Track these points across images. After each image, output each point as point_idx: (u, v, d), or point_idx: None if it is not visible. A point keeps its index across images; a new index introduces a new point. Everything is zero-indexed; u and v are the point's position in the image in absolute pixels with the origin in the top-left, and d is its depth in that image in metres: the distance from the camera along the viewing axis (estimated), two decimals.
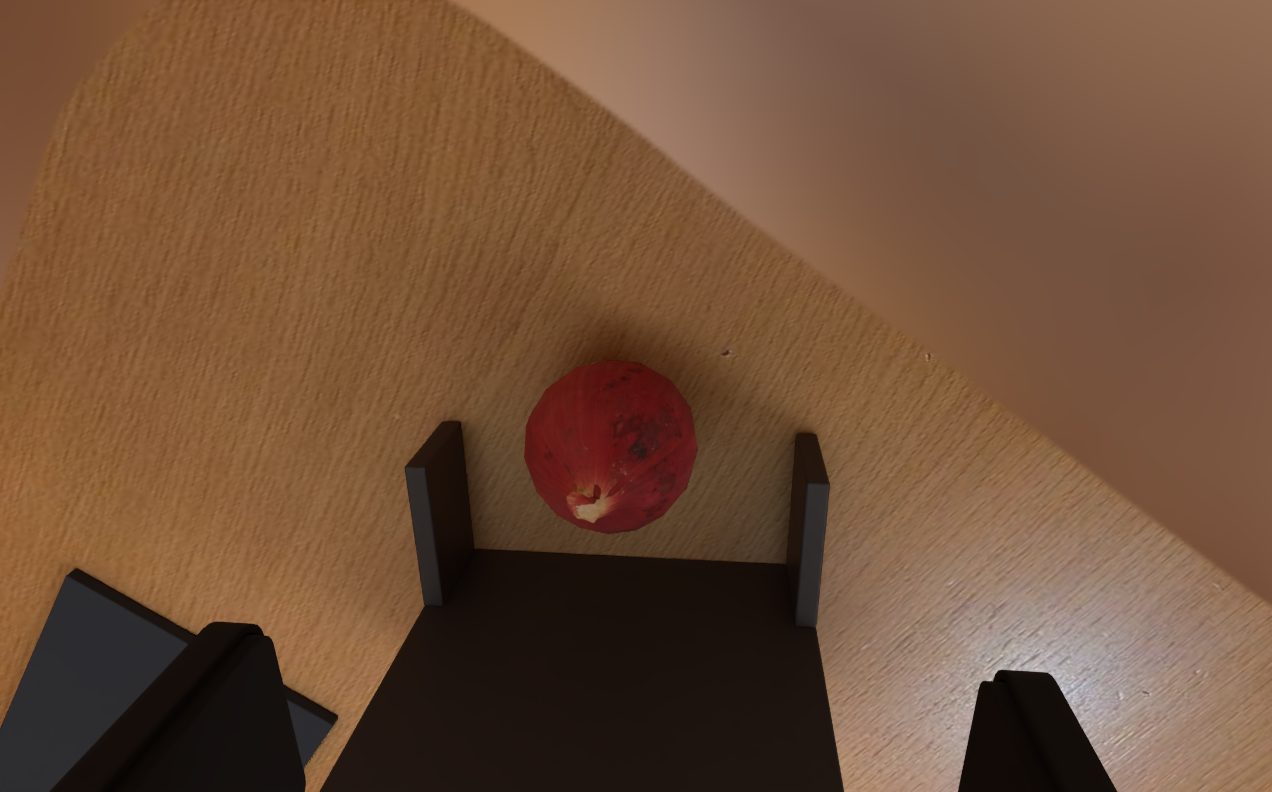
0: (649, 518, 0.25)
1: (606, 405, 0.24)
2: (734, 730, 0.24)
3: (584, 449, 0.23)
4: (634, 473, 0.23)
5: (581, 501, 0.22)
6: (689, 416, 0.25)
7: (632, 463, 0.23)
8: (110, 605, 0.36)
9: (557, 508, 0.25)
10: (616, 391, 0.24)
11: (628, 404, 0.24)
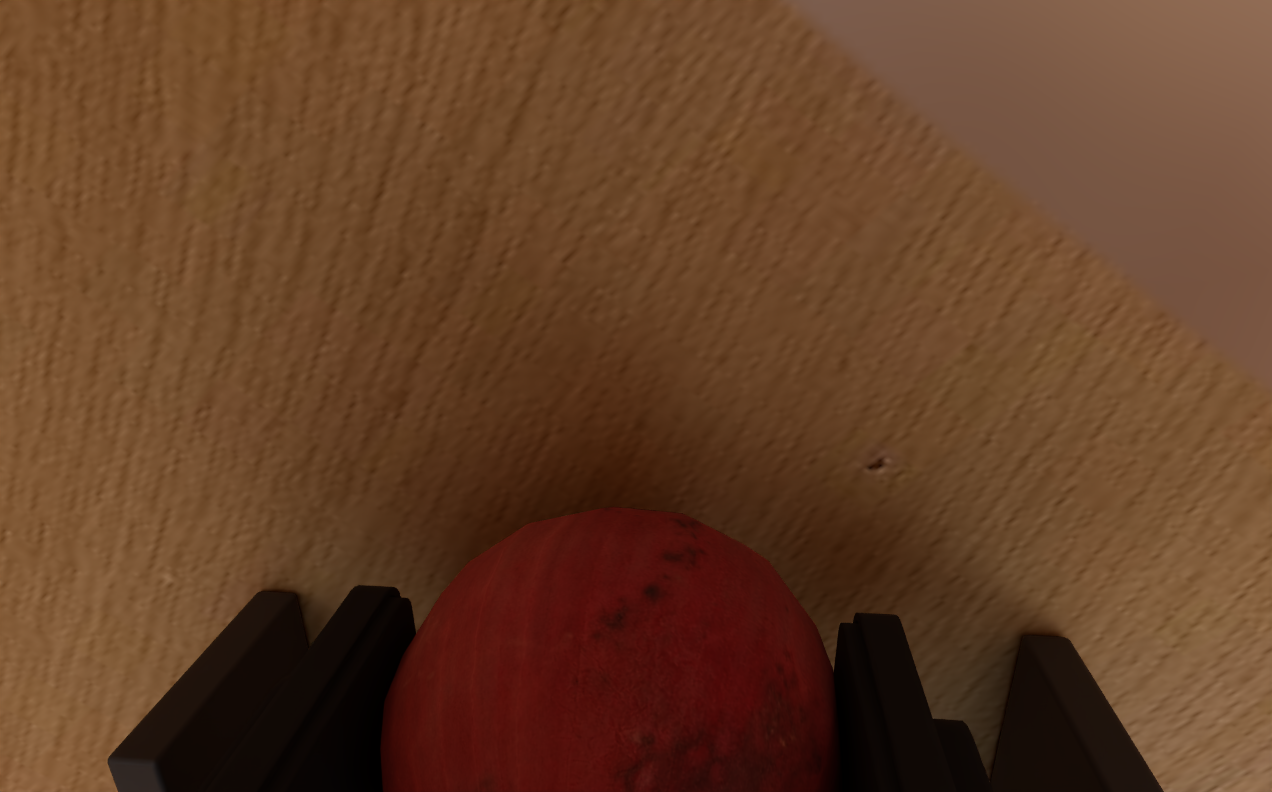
0: None
1: (602, 699, 0.08)
2: None
3: None
4: None
5: None
6: (828, 674, 0.09)
7: None
8: None
9: None
10: (631, 643, 0.08)
11: (669, 689, 0.08)
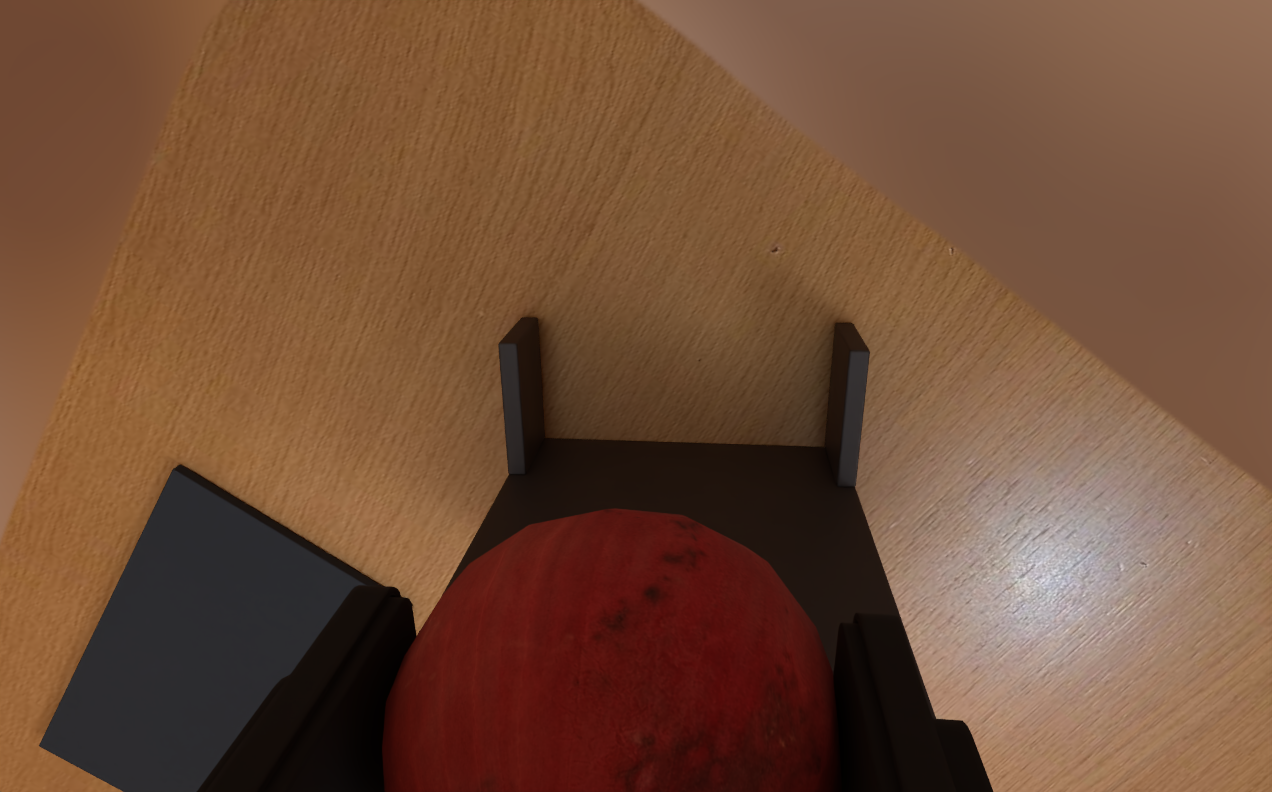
0: None
1: (601, 700, 0.08)
2: (792, 550, 0.28)
3: None
4: None
5: None
6: (827, 675, 0.09)
7: None
8: (211, 496, 0.39)
9: None
10: (631, 644, 0.08)
11: (670, 691, 0.08)
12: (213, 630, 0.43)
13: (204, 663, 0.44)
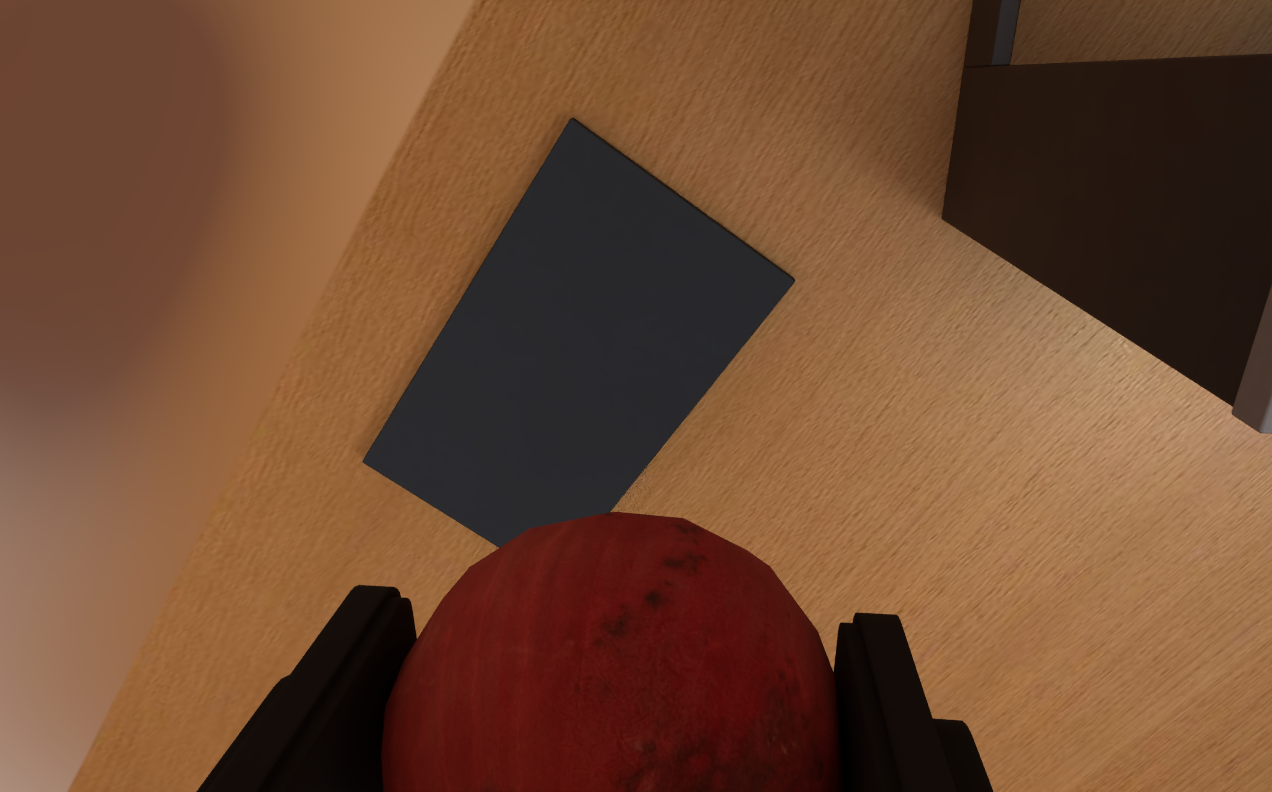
0: None
1: (603, 706, 0.08)
2: None
3: None
4: None
5: None
6: (829, 680, 0.09)
7: None
8: (606, 150, 0.38)
9: None
10: (632, 650, 0.08)
11: (670, 697, 0.08)
12: (577, 314, 0.42)
13: (560, 354, 0.43)
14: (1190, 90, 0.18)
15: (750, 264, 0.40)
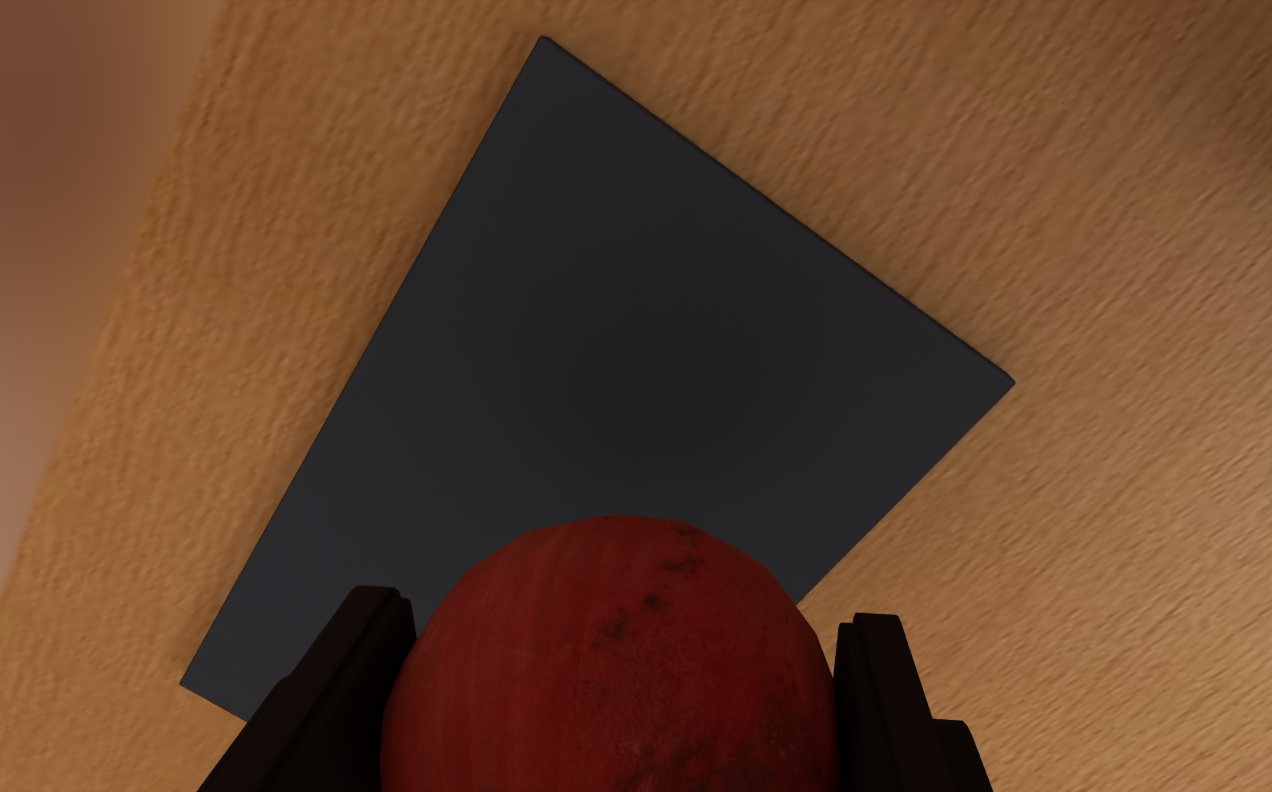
0: None
1: (601, 710, 0.08)
2: None
3: None
4: None
5: None
6: (828, 683, 0.09)
7: None
8: (620, 107, 0.17)
9: None
10: (631, 654, 0.08)
11: (669, 700, 0.08)
12: (561, 441, 0.21)
13: (529, 514, 0.22)
14: None
15: (924, 349, 0.19)
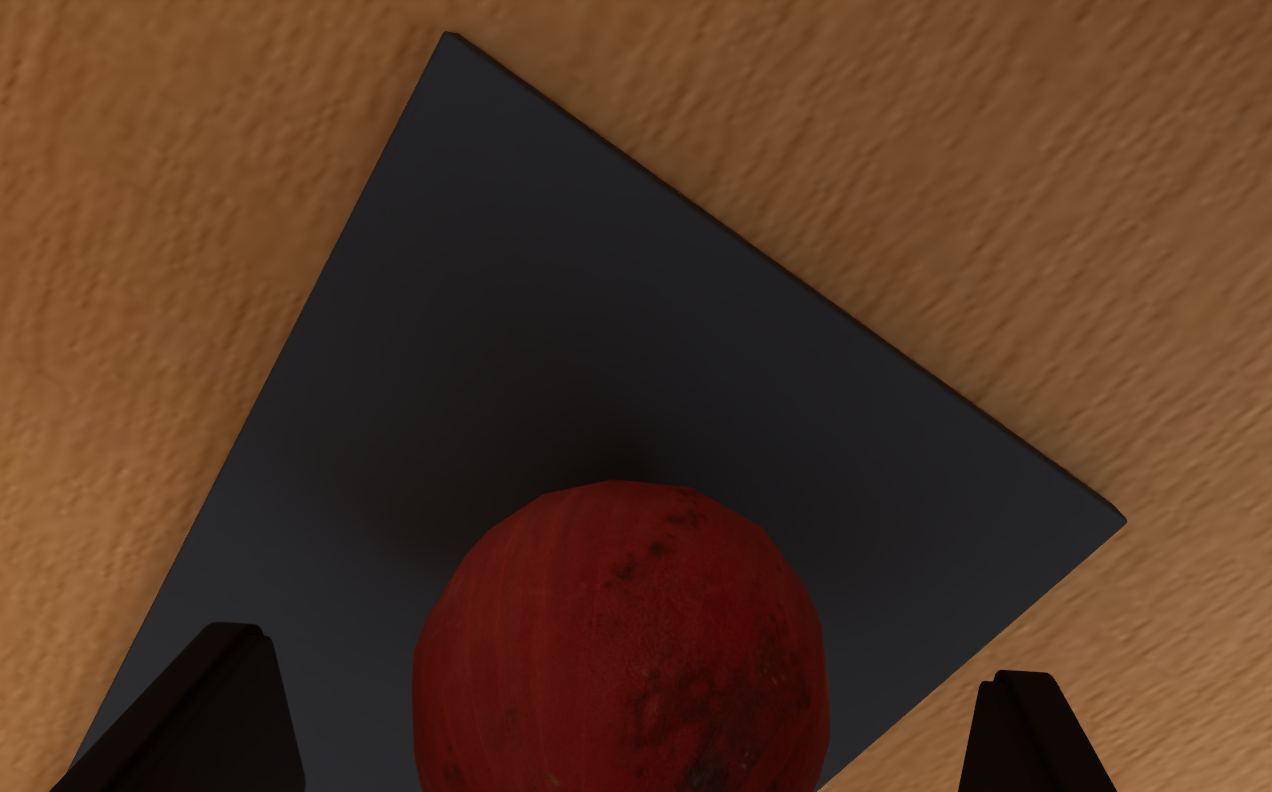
0: None
1: (613, 640, 0.09)
2: None
3: (551, 784, 0.08)
4: None
5: None
6: (816, 627, 0.10)
7: None
8: (564, 135, 0.12)
9: None
10: (639, 591, 0.09)
11: (673, 632, 0.09)
12: None
13: None
14: None
15: (999, 474, 0.13)
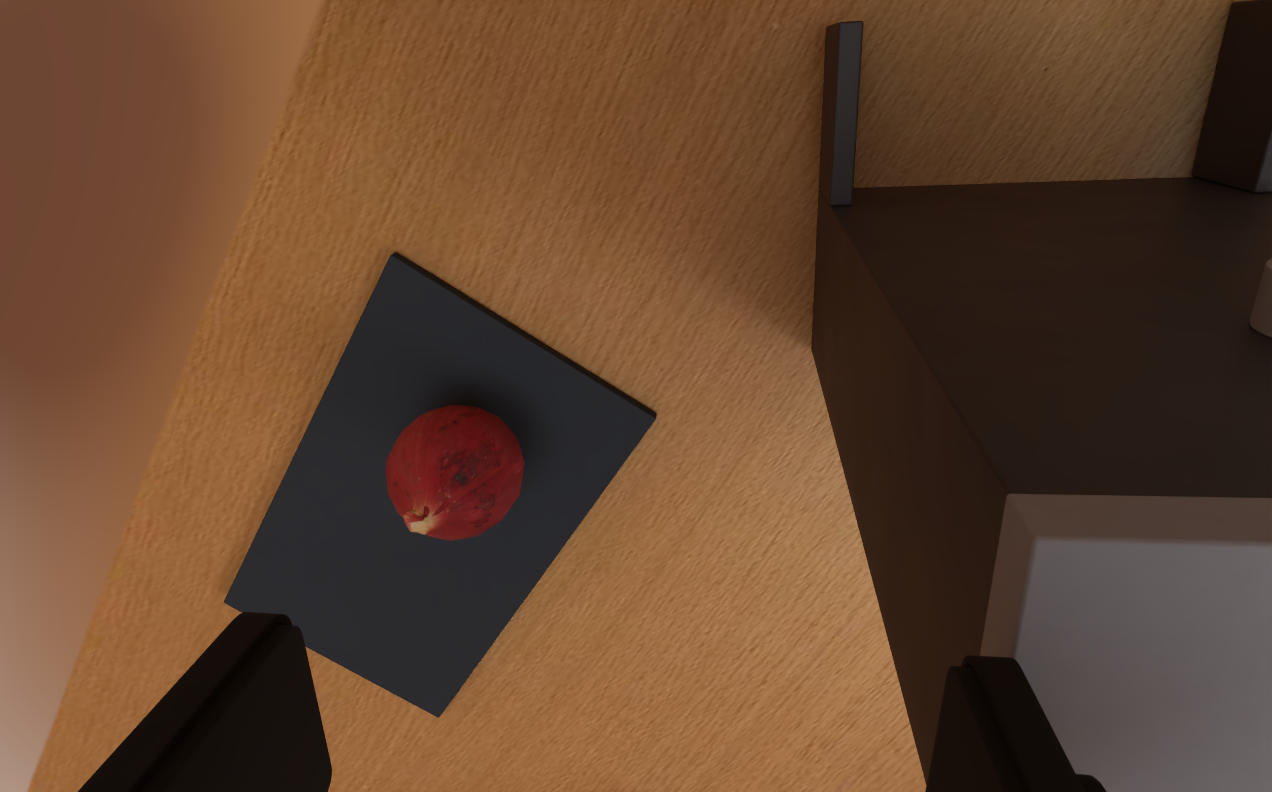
0: (478, 528, 0.32)
1: (437, 444, 0.31)
2: None
3: (418, 479, 0.31)
4: (456, 496, 0.31)
5: (413, 518, 0.30)
6: (511, 448, 0.33)
7: (454, 488, 0.31)
8: (434, 287, 0.34)
9: None
10: (446, 433, 0.31)
11: (454, 442, 0.31)
12: None
13: None
14: (921, 397, 0.14)
15: (605, 402, 0.36)
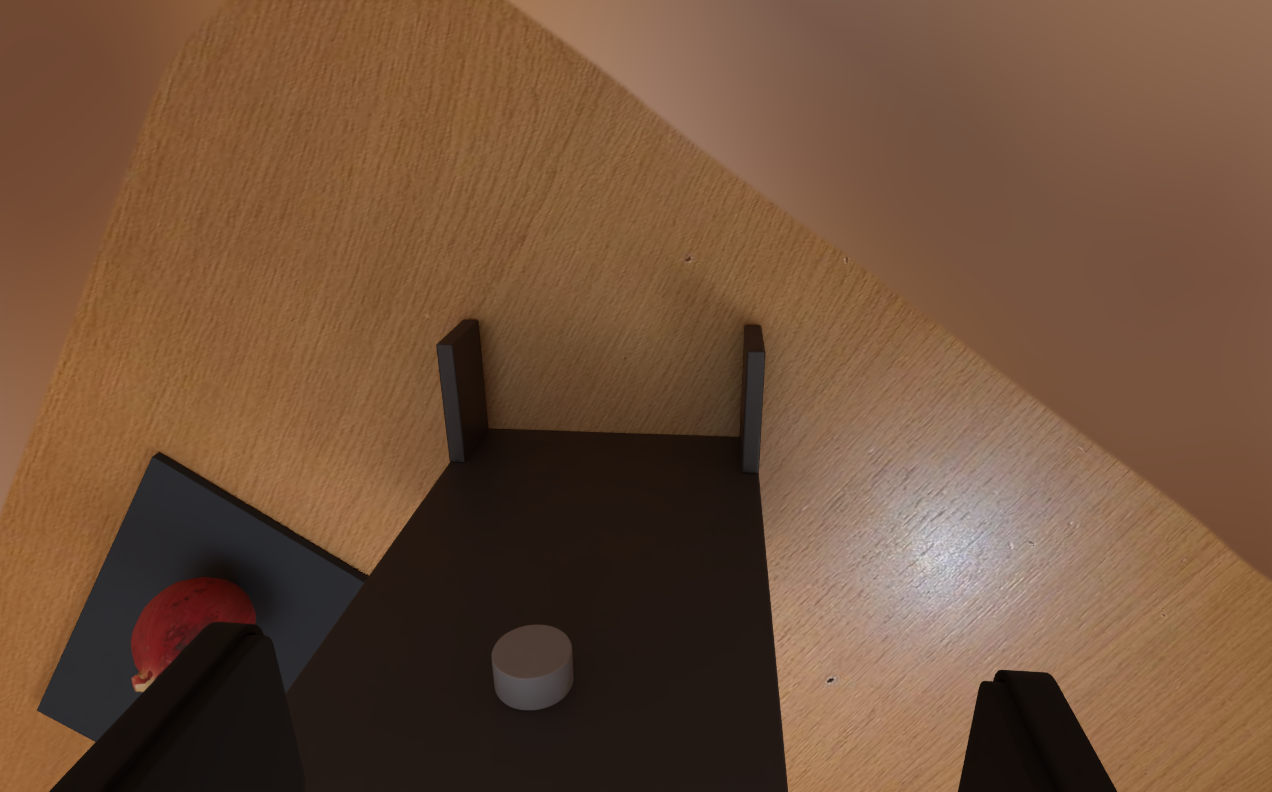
0: None
1: (167, 619, 0.40)
2: (688, 529, 0.31)
3: (147, 648, 0.39)
4: None
5: (138, 681, 0.39)
6: (235, 617, 0.42)
7: (175, 656, 0.39)
8: (187, 481, 0.43)
9: None
10: (176, 609, 0.40)
11: (181, 617, 0.40)
12: None
13: None
14: None
15: (329, 572, 0.45)
